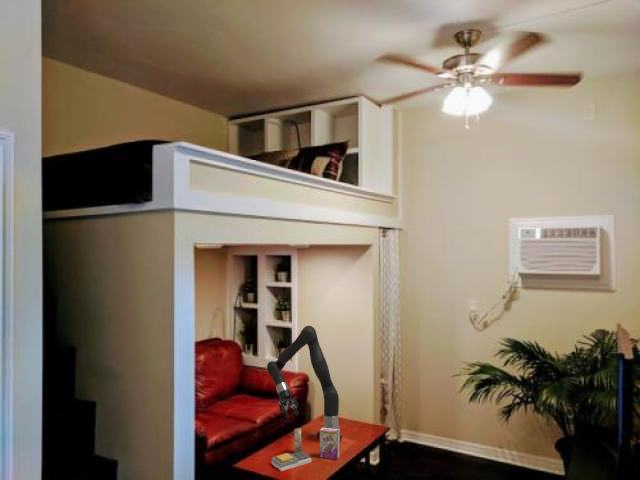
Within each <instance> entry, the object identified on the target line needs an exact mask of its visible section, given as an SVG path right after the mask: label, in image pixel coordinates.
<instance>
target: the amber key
mask: <svg viewBox="0 0 640 480" xmlns="http://www.w3.org/2000/svg"><path fill="white" fill-rule="evenodd" d="M288 453H289V452H288ZM288 453H287V452H286V453H282V454H280V455H275V457H276V458H277V459H278V460H279V461H281V462H282V463H283V462H287V461H290V460H293V457H292V456H290V455H289V454H290V453H289V454H288Z"/></svg>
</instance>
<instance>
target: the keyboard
mask: <svg viewBox="0 0 640 480" xmlns="http://www.w3.org/2000/svg"><path fill="white" fill-rule="evenodd" d="M288 454H289V455H290V456H292V457H293V460H290V461H287V462H283V463H282V462H281V461H279V460H278V459H277V458H276V456H273V457H271V465H272V466H274V467H275V468H276V469H277V468H278V469H277V470H279V471H280V472H283V471H286V470H290V469H293V468H296V467H300V466H303V465H306V464H309V463H312V458H311V456H310V455H309V454H307V453H306V452H304V451H303V450H302V451H300V452H297V453H294V454H293V453H289V452H288Z"/></svg>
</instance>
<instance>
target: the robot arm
mask: <svg viewBox="0 0 640 480" xmlns="http://www.w3.org/2000/svg"><path fill="white" fill-rule="evenodd" d="M306 345H307V347H308V350H309V359H310V363H311V367H312V369H313V371H314V374H315V376H316V377H317V380H318V381H319V383H320V386H321V390H322V394H323V428H331V429H339V442H340V441H341V428H340V427H341V426H340V425H339V423H340V422H339V408H340V407H339V405H340V398H339V397H340V396H339V393H338V391H337V388H336V387H335V385H334V383H333V380H332V377H331V375H330V369H329V366H328V363H327V361H326V357H325V355H324V353H323V350H322V348H321V345H320V342H319V338H318V334H317V330H316V329H315V328H314V327H313V326H312V325H305V326H304V327H303V328H302V329H301V331H300V333H299V335H298V336H297V337H296V339H295V340H294V341H292V342H291V344H289V345H288V346H287V347H286V348H284V349H283V350H282V352H280V353H279V355H277V360H276V361H273V360H272V361H268V362H267V364H266V369H267V370H266V371H267V372H268V374H269V375H270V377H271V379H272V380H273V383H274V385H275V388H276V389H275V390H276V393H277V396H278V397H279V400H280V401H278V402H277V403H278V407H279V411H280V412H283V413H284V416H285V417H286V418H289V417H290V413H289V412H288V408H292V409H293V411H294V414H295V416H298V415H299V414H300V412H299V410H298V408H299V407H300V405H299V403H298V401H297V398H296V397H294V398H292V392H291V390H290V388H289V385H288V383H287V381H286V379H285V376H284V374H282V373H281V371H282V370H283V369H284V368H285V366H286V364H287V363H288V362H289V361H290V360H291V359H292V358H293V357H295V355H296V354H297V353H298V352H299V351H300V350H301V349H302V348H303V347H305V346H306Z"/></svg>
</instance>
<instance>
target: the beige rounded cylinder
mask: <svg viewBox="0 0 640 480" xmlns="http://www.w3.org/2000/svg"><path fill="white" fill-rule="evenodd" d="M293 431H294V449H293V453H292V454H294V453H297V452H300V451H303V450H302V429H301V428H300V427H299V428H295V429H294V430H293Z"/></svg>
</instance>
